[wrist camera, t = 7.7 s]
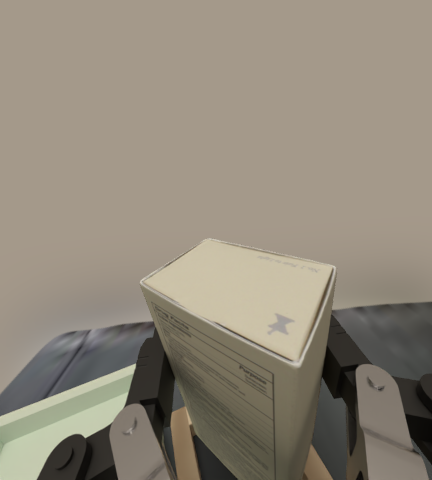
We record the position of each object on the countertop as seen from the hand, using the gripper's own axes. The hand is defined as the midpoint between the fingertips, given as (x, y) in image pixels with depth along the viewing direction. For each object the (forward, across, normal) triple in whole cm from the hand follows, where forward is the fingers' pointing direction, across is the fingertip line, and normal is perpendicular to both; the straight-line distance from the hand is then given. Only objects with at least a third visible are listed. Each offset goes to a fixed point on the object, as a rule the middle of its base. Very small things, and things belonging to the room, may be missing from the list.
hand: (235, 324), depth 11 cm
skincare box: (-2, 0, +7) cm, 8 cm away
